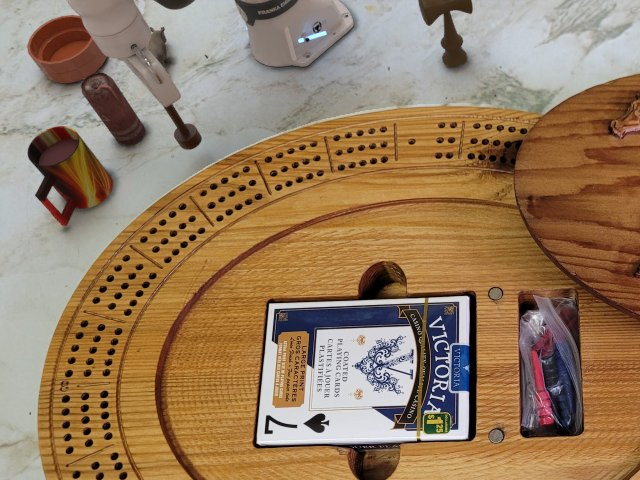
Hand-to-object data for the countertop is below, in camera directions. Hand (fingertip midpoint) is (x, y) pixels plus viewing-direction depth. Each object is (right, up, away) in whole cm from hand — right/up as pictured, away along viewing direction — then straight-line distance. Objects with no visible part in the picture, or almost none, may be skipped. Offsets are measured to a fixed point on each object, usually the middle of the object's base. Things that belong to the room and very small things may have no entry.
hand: (160, 94), depth 147 cm
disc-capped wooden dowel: (+1, -5, +11) cm, 12 cm away
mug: (-19, -16, +13) cm, 28 cm away
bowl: (-31, +17, +30) cm, 46 cm away
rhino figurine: (-11, +16, +28) cm, 34 cm away
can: (-14, -2, +19) cm, 24 cm away
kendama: (+51, +14, +21) cm, 57 cm away
